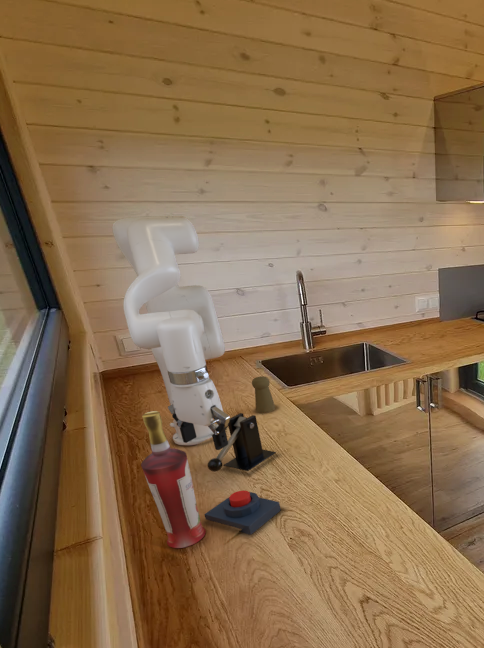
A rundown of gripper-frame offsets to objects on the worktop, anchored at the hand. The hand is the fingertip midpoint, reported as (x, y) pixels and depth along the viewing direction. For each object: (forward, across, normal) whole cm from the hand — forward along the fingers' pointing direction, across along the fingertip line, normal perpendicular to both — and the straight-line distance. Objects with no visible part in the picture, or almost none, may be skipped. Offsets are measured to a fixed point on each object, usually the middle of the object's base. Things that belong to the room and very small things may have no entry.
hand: (205, 443), depth 113 cm
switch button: (+7, -17, +8) cm, 20 cm away
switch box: (+10, -17, +8) cm, 21 cm away
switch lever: (+4, -1, -6) cm, 8 cm away
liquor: (+10, -12, +19) cm, 25 cm away
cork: (+12, +20, -40) cm, 46 cm away
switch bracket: (+11, -1, -11) cm, 15 cm away
